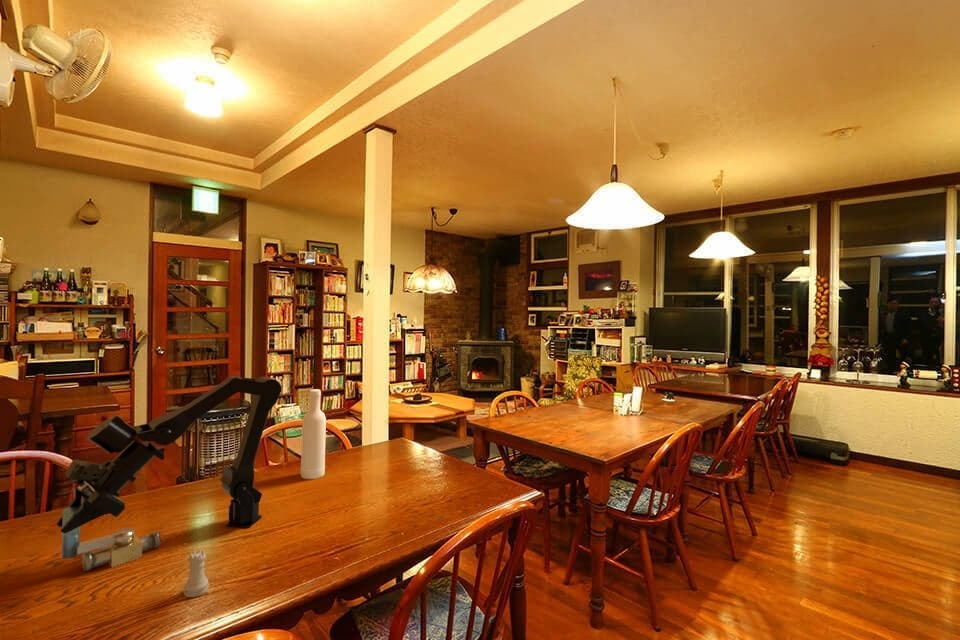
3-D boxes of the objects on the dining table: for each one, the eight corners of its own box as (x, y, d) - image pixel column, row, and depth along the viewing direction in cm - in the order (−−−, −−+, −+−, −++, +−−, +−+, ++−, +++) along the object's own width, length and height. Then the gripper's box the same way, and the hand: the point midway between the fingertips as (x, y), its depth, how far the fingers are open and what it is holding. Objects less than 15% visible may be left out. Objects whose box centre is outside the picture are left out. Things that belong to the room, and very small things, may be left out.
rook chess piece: (190, 585, 95) (191, 547, 95) (213, 585, 96) (214, 547, 96) (178, 598, 91) (179, 559, 91) (202, 598, 91) (203, 559, 91)
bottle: (308, 470, 164) (310, 387, 164) (328, 472, 163) (331, 388, 162) (296, 478, 156) (298, 391, 156) (317, 480, 155) (320, 392, 154)
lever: (132, 534, 107) (133, 492, 107) (135, 541, 105) (136, 497, 104) (61, 553, 98) (61, 507, 98) (62, 561, 96) (63, 513, 95)
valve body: (153, 542, 112) (153, 526, 112) (161, 550, 108) (162, 534, 108) (81, 566, 101) (81, 548, 101) (88, 575, 97) (88, 557, 97)
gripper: (85, 436, 106) (16, 497, 97) (108, 455, 94) (32, 526, 86) (125, 462, 112) (63, 521, 104) (151, 483, 101) (84, 551, 92)
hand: (60, 529), depth 96 cm, fingers open, 4 cm apart
